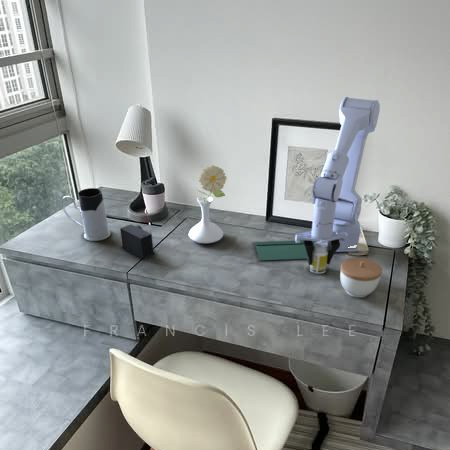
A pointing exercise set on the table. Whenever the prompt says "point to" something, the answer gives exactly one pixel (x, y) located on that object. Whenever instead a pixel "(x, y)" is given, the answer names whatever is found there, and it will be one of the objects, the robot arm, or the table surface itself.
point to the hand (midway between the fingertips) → (318, 262)
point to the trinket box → (360, 276)
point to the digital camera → (137, 240)
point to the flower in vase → (206, 229)
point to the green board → (281, 250)
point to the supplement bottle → (319, 258)
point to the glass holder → (91, 214)
